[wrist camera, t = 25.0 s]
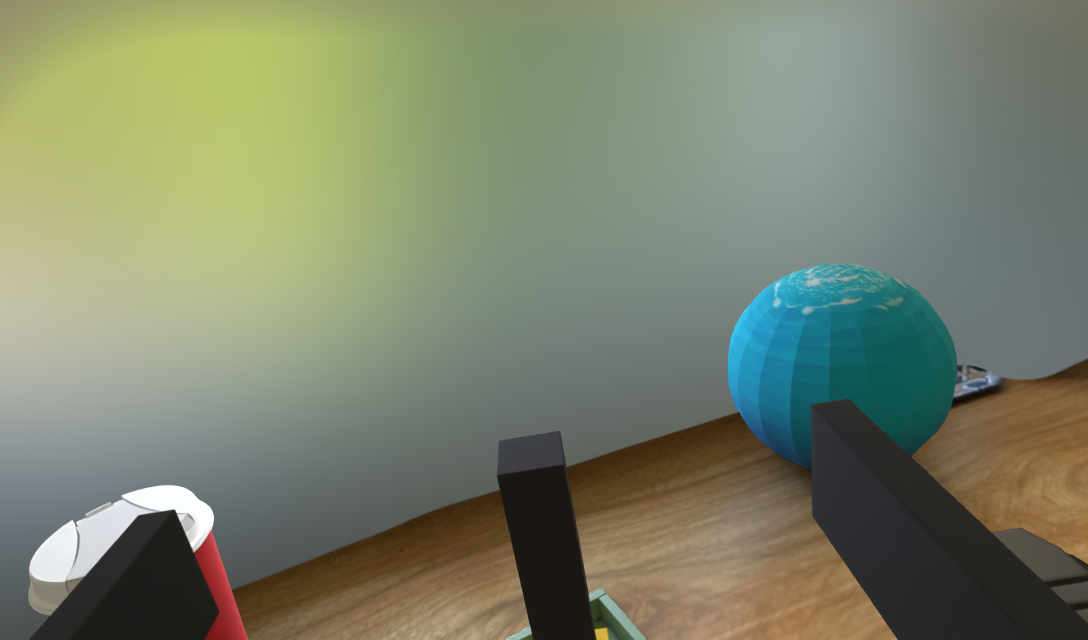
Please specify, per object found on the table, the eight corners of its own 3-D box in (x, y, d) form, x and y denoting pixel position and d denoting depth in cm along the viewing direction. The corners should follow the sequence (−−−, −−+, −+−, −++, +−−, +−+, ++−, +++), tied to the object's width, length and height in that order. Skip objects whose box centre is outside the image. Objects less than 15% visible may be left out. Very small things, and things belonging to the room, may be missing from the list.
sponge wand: (558, 846, 27) (478, 510, 21) (550, 713, 32) (486, 419, 26) (641, 833, 26) (585, 493, 21) (619, 702, 32) (570, 405, 26)
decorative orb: (997, 459, 45) (1018, 257, 40) (856, 553, 39) (858, 330, 34) (820, 389, 58) (818, 229, 53) (692, 452, 52) (676, 279, 47)
